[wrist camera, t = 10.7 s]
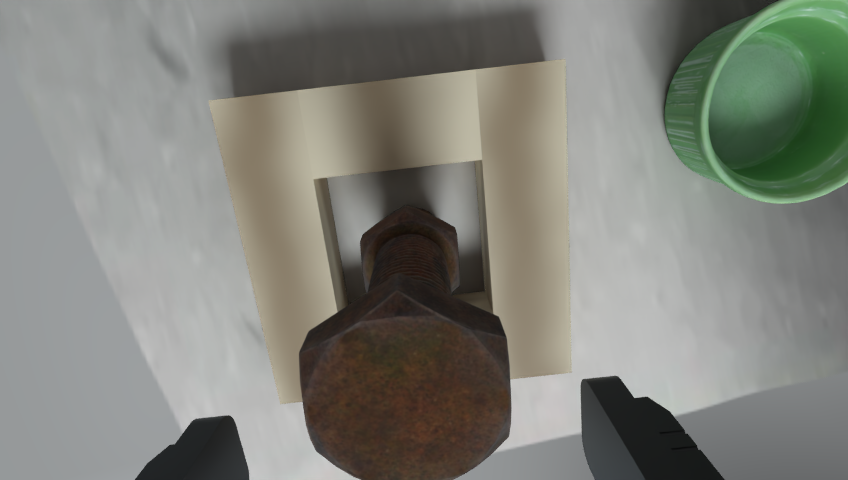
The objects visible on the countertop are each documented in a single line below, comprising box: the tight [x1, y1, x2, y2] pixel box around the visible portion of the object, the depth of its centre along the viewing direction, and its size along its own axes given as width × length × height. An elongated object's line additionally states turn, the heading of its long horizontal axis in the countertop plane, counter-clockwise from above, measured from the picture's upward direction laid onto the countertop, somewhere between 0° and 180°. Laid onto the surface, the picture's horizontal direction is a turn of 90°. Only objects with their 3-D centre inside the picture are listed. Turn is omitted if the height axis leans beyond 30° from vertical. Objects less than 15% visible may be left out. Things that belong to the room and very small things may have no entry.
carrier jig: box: [209, 59, 572, 404], centre depth 24 cm, size 16×16×3 cm
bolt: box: [299, 205, 511, 480], centre depth 18 cm, size 6×5×15 cm
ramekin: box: [665, 0, 848, 204], centre depth 22 cm, size 9×9×4 cm
